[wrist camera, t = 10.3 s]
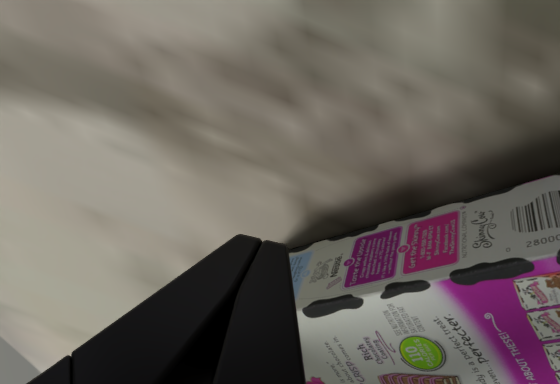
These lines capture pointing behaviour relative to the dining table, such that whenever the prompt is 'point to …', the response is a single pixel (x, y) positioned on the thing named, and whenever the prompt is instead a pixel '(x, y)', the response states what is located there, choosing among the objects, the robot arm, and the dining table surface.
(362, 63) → the dining table surface
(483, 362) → the candy bar box
